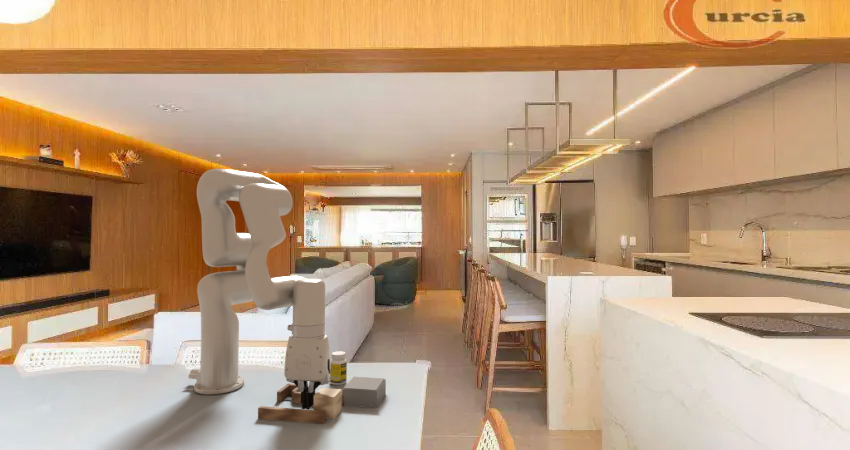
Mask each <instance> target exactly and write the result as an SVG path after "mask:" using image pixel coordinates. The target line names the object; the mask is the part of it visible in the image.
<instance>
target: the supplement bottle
mask: <svg viewBox="0 0 850 450" xmlns="http://www.w3.org/2000/svg"><path fill="white" fill-rule="evenodd" d="M346 354H347V353H346V352H345V351H341V350H339V351H338V350H337V351H333V352H332V353H331V355H330V361H331V370H330V374H329V376H330V382H329V383H330V384H331V385H332V386H333V385H334V386H341V385H345V384H347V383H346V382H347V379H348V377H347V373H348V372H347V365H348V361H347V359H346V357H347V355H346Z"/></svg>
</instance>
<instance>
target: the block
mask: <svg viewBox="0 0 850 450" xmlns="http://www.w3.org/2000/svg"><path fill="white" fill-rule="evenodd" d="M342 389H343V388H342ZM342 389H341V388H329V387H327V388H326V387H322V388H320V389H319V390H318V391H317V392H315V393H316V394H315V395H314V405H313V410H320V411H326V419H329V420H330V419H331V420H332V419H333V420H334V419H335V418H336V417H337V416H338V414H340V413H341V411H342V407H343V406H342Z"/></svg>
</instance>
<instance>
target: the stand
mask: <svg viewBox="0 0 850 450" xmlns="http://www.w3.org/2000/svg"><path fill="white" fill-rule="evenodd" d="M386 384H387V381H386V378H383V377H382V378H381V377H368V376H367V377H366V376H365V377H364V376H353V377H352V378H351V379H350V380H349V381H348V382H347V383H346V384H345V385H344V387H342V395H343V396H344V406H343V407H357V408H358V407H360V408H371V409H377V408H379V406H380V404H381V402H382V401H383V400H384V397H385V396H386V395H387V394H386V390H387V388H386V386H387V385H386Z"/></svg>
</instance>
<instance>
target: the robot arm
mask: <svg viewBox="0 0 850 450" xmlns="http://www.w3.org/2000/svg"><path fill="white" fill-rule="evenodd" d="M196 198H197V199H196V200H197V204H198V208H199V212H200V218H201V242H202V243H201V245H202V247H201V248H202V258H203V261H204V263H205V264H206V265H207V266H209V267H212V268H223V267H225V268H227V267H236V270H228V271H217V272H213V273H209V274H207V275H204V276H203V277H202V278H201V279H200V280H199V282H198V283H197V287H196V288H197V289H196V291H197V292H196V293H197V299H198V304H199V310H200V369H195V368H194V369H191V370H190V372H189V374H188V379H192V380H195V379H196V382H195V383H194V385H193V391H194V392H195V393H197V394H200V395H209V396H210V395H221V394H225V393H230V392H234V391H236V390H238V389H240V388H242V387H243V386H244V385H245V379H244V377H242V376H240V375H239V354H240V353H239V347H240V346H239V339H240V330H239V329H240V323H239V317H238V315H237V313H236V312H235V311H234V309H233V307H232V306H235V305H239V304H240V305H241V304H244V303H245V304H246V303H250V302H253V303H254V304H255V305H256V306H257V307H258V308H259V309H260V310H263V311H271V310H272V311H273V310H277V309H281V308H282V309H283V308H287V307H292V323H291V324H288V325H287V330H288V331H290V332H291V335H290V336H288V340H287V344H286V351H285V356H284V357H285V359H284V373H283V375H284V377H285V378H286V380H285V381H286V382H289V383H290V384H295V385H296V386H297V387H298V388H299V391H300V392H301V403H300V404H301V409H306V410H311V408H312V407H314V395H315V393H316V389H317V388H318V387H319V386H323V385H324V386H325V385H328V384H329V383H330V370H331V352H330V349H331V348H330V342H329V339H328V335H327V334H326V332H325V331H326V326H325V325H326V283H325V281H324V280H323V279H320V278H307V277H304V276H300V275H287V276H276V277H275V276H274V277H271V276H270V273H269V269H268V265H267V258H268V253H269V252H270V250H271V249H273V248H275V247H277V246H278V245H280V244H281V243H283V242H284V240H286V238H287V234H286V233H287V232H286V230H285V227H284V224H283V221H282V219H281V217H283V216H286V215H288V214H289V213H290V212H291V210H292V209H293V205H294V204H293V203H294V202H293V200H294V199H293V197H292V194H291V192H290V191H289V190H288V188H286V187H285V186H284V185H282V184H280V183H279V182H276V181H274V180H272V179H270V178H269V177H266V176H265V175H262V174H259V173H255V172H250V171H242V170H236V169H229V168H213V169H208V170H206V171H205V172H204V173H203V174H202V175H201V176H200V178H199V180H198V182H197V186H196ZM227 201H228V202H229V201H232V202H233V201H234V202H239V205H240V209H241V212H242V214H243V218H244V221H245V224H246V227H247V230H248V233H247V232H237V230H236V217H235V215H234V212H233V210H232V208H231V207H230V206H229V204H228V203H227ZM308 382H309V383H308Z"/></svg>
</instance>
